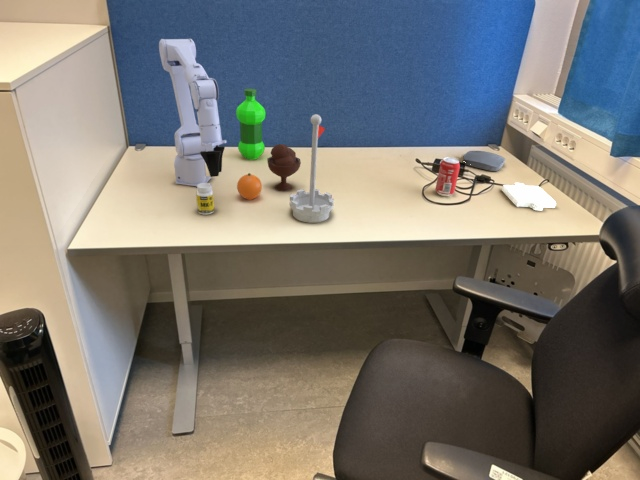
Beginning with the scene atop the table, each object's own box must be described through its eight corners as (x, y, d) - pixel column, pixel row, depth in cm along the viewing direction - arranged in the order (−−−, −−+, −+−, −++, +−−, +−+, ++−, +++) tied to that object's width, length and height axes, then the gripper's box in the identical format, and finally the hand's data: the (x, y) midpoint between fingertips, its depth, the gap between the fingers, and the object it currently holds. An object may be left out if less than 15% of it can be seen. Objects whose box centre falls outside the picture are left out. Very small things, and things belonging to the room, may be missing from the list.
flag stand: (317, 228, 133) (324, 124, 118) (280, 215, 139) (282, 114, 124) (340, 212, 143) (349, 114, 128) (304, 200, 148) (309, 105, 133)
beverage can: (455, 192, 161) (462, 159, 155) (451, 198, 156) (459, 165, 150) (437, 188, 163) (443, 155, 157) (432, 194, 158) (439, 161, 152)
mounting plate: (499, 187, 167) (500, 182, 166) (534, 188, 168) (535, 183, 167) (519, 210, 152) (521, 204, 151) (558, 211, 152) (560, 206, 151)
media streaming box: (496, 173, 178) (498, 166, 177) (459, 164, 185) (461, 157, 183) (505, 162, 189) (507, 155, 188) (470, 154, 196) (471, 147, 194)
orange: (234, 200, 145) (233, 176, 141) (242, 191, 152) (241, 167, 148) (257, 204, 144) (257, 180, 140) (264, 194, 151) (264, 170, 147)
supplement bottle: (200, 216, 136) (197, 189, 131) (195, 209, 139) (193, 183, 135) (216, 213, 138) (214, 187, 133) (211, 206, 141) (210, 180, 137)
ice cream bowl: (295, 196, 151) (297, 151, 143) (262, 191, 153) (262, 147, 145) (303, 183, 160) (305, 140, 152) (272, 179, 162) (272, 136, 154)
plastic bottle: (232, 155, 179) (229, 88, 166) (255, 150, 185) (254, 85, 172) (247, 164, 172) (246, 94, 160) (270, 158, 179) (270, 91, 166)
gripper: (221, 125, 123) (228, 177, 127) (226, 122, 137) (232, 169, 141) (194, 128, 123) (201, 179, 127) (201, 124, 137) (208, 171, 141)
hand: (216, 174), depth 134 cm, fingers open, 7 cm apart
